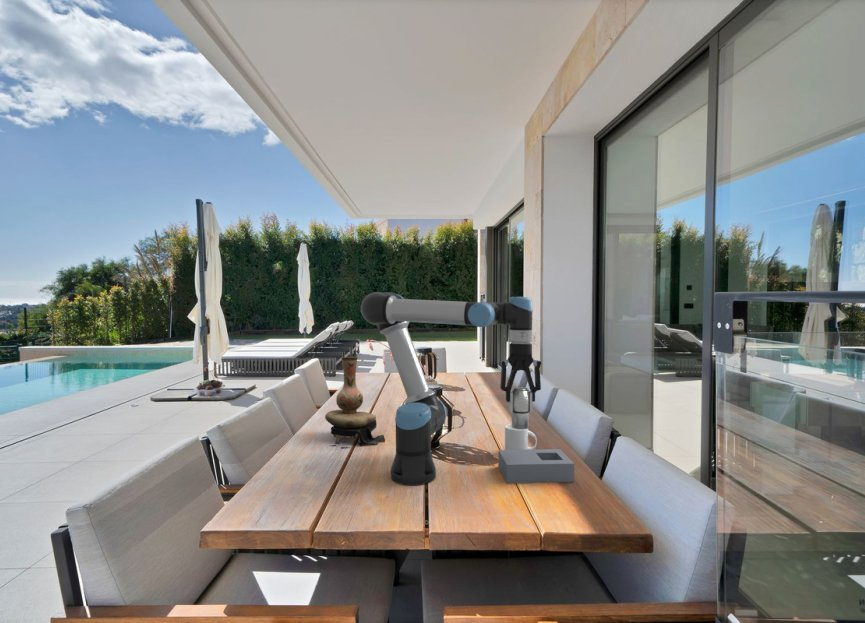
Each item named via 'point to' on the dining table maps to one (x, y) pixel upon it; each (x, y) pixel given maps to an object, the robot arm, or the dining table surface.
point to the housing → (535, 466)
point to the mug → (517, 438)
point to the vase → (352, 410)
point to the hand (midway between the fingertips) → (520, 411)
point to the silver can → (520, 408)
